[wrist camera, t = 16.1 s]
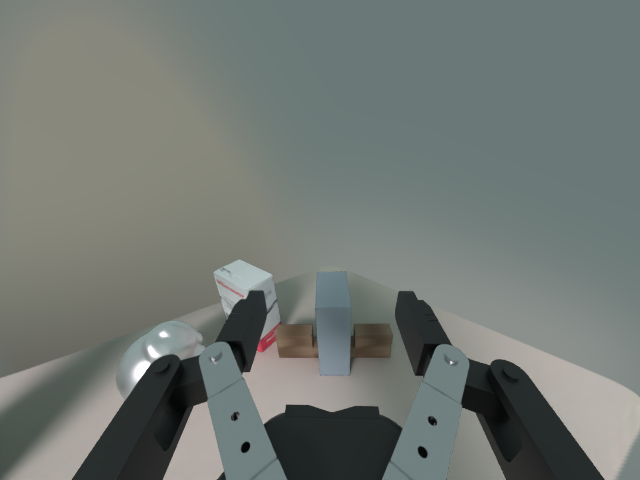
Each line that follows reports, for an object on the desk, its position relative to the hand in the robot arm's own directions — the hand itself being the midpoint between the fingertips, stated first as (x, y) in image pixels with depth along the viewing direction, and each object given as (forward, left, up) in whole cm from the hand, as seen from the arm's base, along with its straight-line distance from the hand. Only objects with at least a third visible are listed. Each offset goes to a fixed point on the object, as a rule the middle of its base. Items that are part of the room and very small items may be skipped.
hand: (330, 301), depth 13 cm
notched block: (0, +12, -21) cm, 24 cm away
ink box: (-13, +16, -21) cm, 29 cm away
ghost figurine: (-21, +7, -21) cm, 30 cm away
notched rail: (0, +12, -21) cm, 24 cm away
